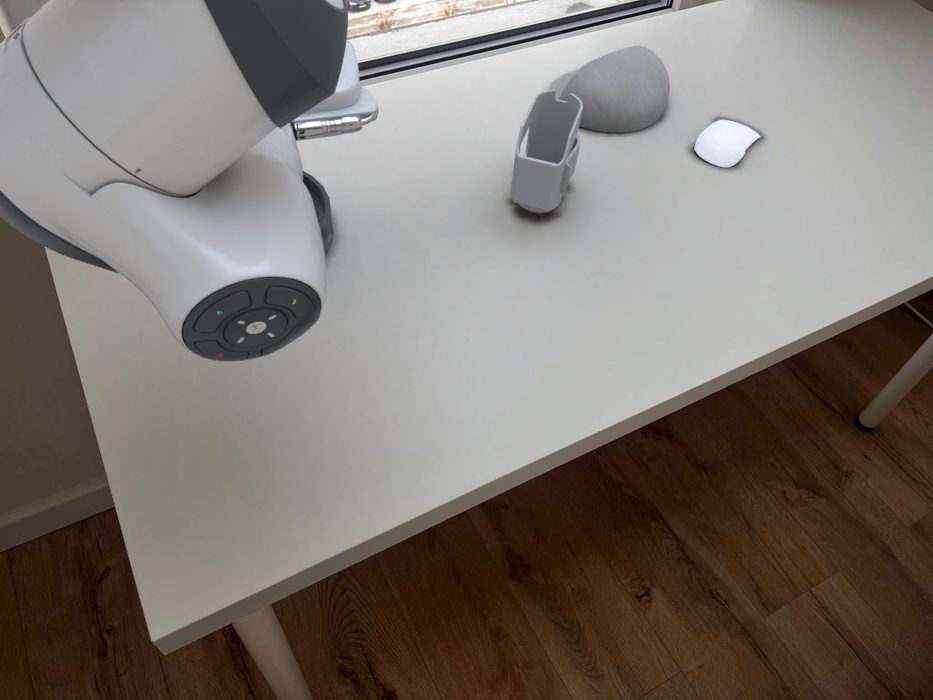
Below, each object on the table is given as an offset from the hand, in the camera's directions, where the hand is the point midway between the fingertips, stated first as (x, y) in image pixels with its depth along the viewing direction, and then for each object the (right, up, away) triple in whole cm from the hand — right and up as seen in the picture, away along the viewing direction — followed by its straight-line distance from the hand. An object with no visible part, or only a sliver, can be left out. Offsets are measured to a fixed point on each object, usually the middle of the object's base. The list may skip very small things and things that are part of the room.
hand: (205, 38), depth 53 cm
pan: (-5, -10, +30) cm, 32 cm away
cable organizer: (+29, -4, +38) cm, 47 cm away
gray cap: (+41, +14, +54) cm, 69 cm away
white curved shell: (+56, +6, +48) cm, 74 cm away
